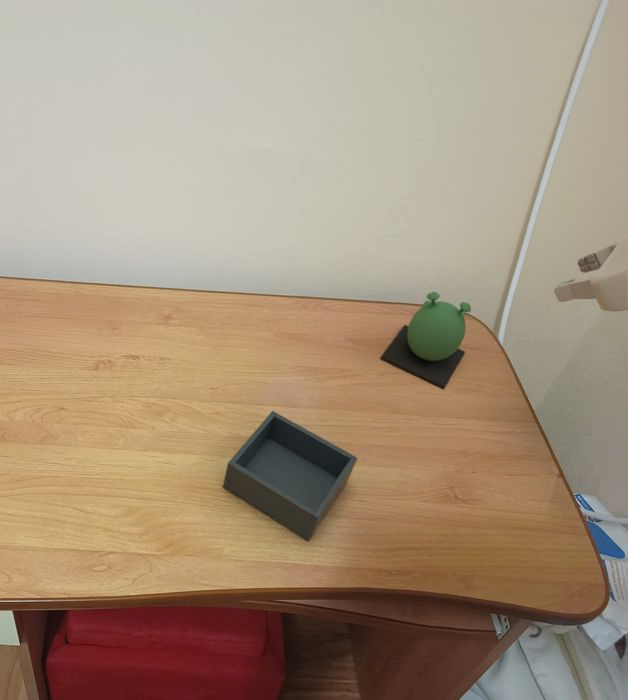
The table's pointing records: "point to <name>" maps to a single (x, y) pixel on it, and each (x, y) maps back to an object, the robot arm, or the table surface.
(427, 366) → the mat
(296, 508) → the crate
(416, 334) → the alien toy
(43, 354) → the table surface
